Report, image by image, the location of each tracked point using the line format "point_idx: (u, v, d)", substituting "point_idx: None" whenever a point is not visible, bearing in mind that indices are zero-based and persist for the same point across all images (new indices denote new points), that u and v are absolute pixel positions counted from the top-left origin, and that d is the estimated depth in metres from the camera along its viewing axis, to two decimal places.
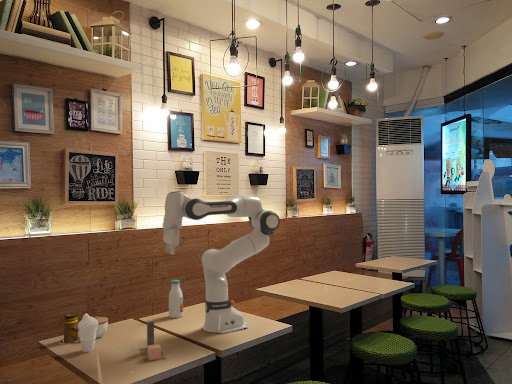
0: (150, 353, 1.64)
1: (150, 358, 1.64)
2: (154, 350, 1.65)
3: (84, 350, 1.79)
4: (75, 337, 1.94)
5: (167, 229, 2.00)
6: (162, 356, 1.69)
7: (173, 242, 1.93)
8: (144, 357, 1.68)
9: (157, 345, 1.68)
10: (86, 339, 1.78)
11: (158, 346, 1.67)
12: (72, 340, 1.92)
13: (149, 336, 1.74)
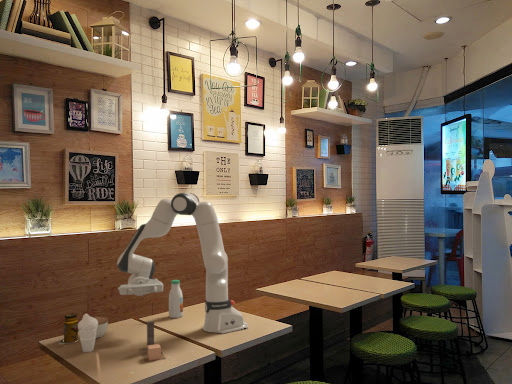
0: (150, 353, 1.64)
1: (150, 358, 1.64)
2: (154, 350, 1.65)
3: (84, 350, 1.79)
4: (75, 337, 1.94)
5: None
6: (162, 356, 1.69)
7: None
8: (144, 357, 1.68)
9: (157, 345, 1.68)
10: (86, 339, 1.78)
11: (158, 346, 1.67)
12: (72, 340, 1.92)
13: (149, 336, 1.74)
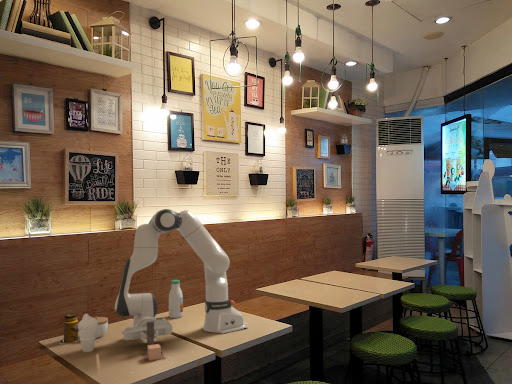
0: (150, 353, 1.64)
1: (150, 358, 1.64)
2: (154, 350, 1.65)
3: (84, 350, 1.79)
4: (75, 337, 1.94)
5: None
6: (162, 356, 1.69)
7: (124, 337, 1.76)
8: (144, 357, 1.68)
9: (157, 345, 1.68)
10: (86, 339, 1.78)
11: (158, 346, 1.67)
12: (72, 340, 1.92)
13: (149, 336, 1.74)
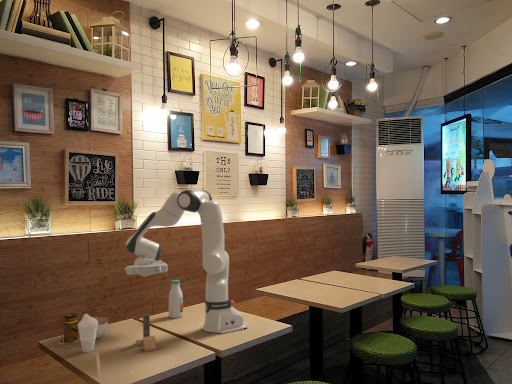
0: (146, 344, 1.75)
1: (146, 349, 1.75)
2: (149, 341, 1.76)
3: (84, 350, 1.79)
4: (75, 337, 1.94)
5: None
6: (157, 347, 1.80)
7: (126, 272, 2.06)
8: (140, 348, 1.79)
9: (152, 337, 1.79)
10: (86, 339, 1.78)
11: (153, 337, 1.78)
12: (72, 340, 1.92)
13: (145, 328, 1.85)
